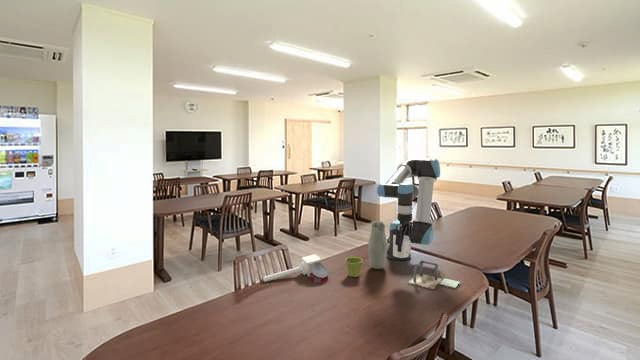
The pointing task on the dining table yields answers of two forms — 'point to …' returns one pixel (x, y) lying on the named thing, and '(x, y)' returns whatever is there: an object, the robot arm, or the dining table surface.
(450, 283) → the pad
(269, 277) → the white handled tool
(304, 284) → the dining table surface
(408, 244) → the cup
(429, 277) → the wire board
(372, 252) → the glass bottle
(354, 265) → the plant pot
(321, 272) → the canned food
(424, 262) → the bent wire
